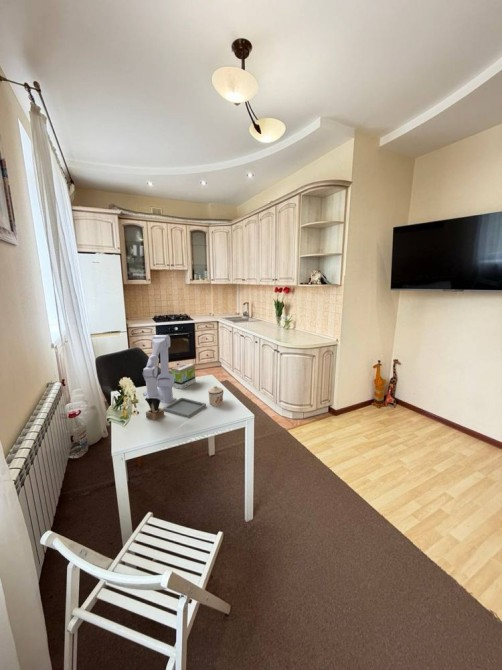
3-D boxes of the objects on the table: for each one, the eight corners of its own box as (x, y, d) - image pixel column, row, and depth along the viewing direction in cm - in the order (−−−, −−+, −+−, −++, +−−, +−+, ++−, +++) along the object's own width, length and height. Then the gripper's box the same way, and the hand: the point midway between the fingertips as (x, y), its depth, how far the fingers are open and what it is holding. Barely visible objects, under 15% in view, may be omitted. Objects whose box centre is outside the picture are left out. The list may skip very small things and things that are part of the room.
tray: (163, 411, 162) (163, 408, 162) (181, 400, 176) (181, 397, 175) (188, 418, 153) (188, 415, 152) (206, 406, 166) (205, 403, 166)
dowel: (151, 416, 155) (150, 404, 153) (155, 414, 158) (154, 402, 156) (155, 418, 154) (153, 405, 152) (159, 415, 156) (157, 403, 154)
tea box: (182, 389, 193) (180, 370, 190) (172, 387, 198) (170, 368, 195) (196, 382, 206) (194, 363, 203) (186, 380, 211) (184, 362, 207)
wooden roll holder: (146, 418, 154) (145, 412, 154) (156, 413, 160) (155, 406, 160) (155, 421, 151) (154, 414, 150) (164, 415, 157) (163, 409, 156)
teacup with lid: (217, 407, 164) (216, 390, 162) (206, 404, 169) (204, 387, 167) (229, 400, 174) (228, 383, 172) (218, 397, 179) (217, 380, 176)
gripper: (137, 387, 152) (140, 409, 155) (155, 392, 145) (158, 415, 148) (147, 383, 158) (150, 404, 161) (165, 387, 151) (167, 409, 154)
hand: (154, 409), depth 155 cm, fingers closed on dowel, 3 cm apart
